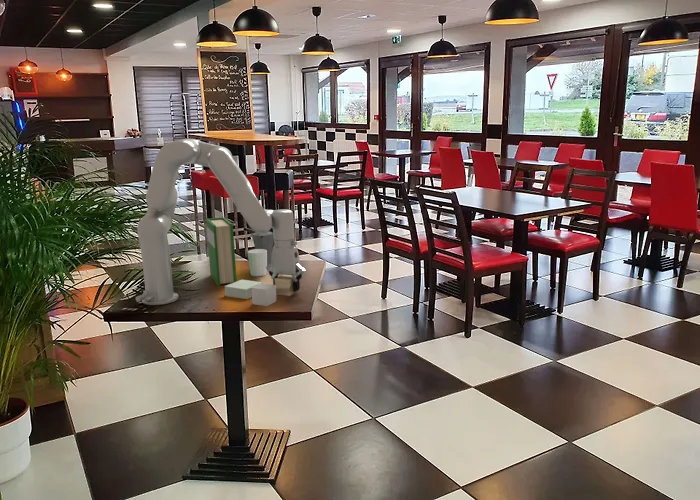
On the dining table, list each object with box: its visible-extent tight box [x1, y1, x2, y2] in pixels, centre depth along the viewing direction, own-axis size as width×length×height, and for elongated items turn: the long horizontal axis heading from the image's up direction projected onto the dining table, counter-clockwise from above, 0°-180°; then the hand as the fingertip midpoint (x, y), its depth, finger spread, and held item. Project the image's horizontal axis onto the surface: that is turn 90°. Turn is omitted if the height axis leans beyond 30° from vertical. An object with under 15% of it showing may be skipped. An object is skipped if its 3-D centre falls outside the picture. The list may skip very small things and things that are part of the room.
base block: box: [224, 279, 264, 300], centre depth 211 cm, size 10×10×4 cm
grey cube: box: [251, 282, 277, 307], centre depth 200 cm, size 6×6×6 cm
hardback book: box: [205, 216, 238, 287], centre depth 229 cm, size 18×7×24 cm, turn 22°
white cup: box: [247, 248, 268, 277], centre depth 237 cm, size 8×8×10 cm
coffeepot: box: [251, 230, 274, 266], centre depth 249 cm, size 15×9×18 cm, turn 4°
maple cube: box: [275, 274, 299, 297], centre depth 211 cm, size 6×6×6 cm
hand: (286, 289), depth 211 cm, fingers open, 7 cm apart
